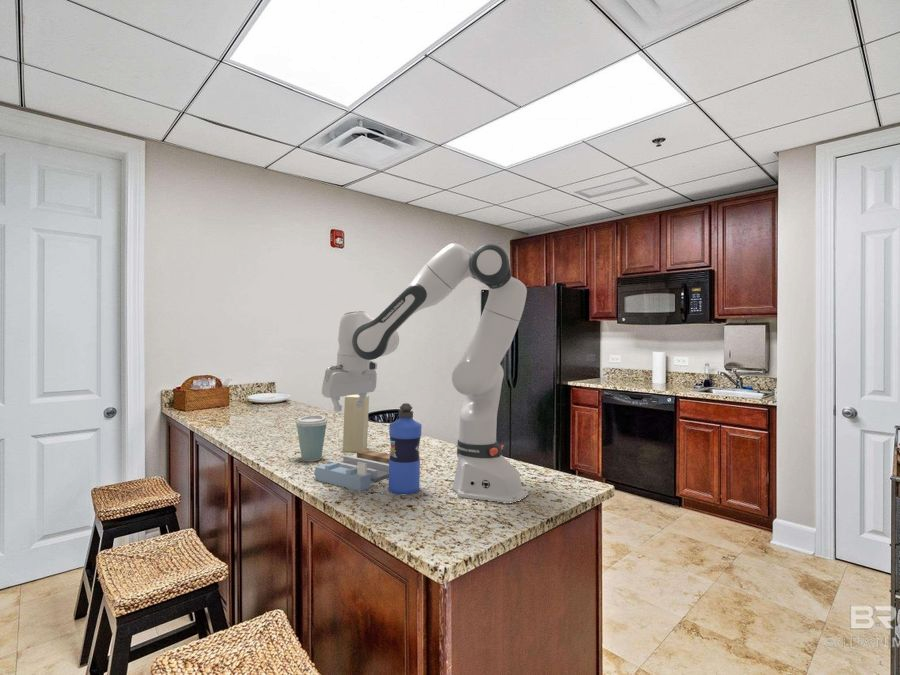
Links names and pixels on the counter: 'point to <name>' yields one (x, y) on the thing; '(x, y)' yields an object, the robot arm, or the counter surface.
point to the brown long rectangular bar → (374, 456)
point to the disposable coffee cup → (311, 436)
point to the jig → (373, 467)
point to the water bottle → (404, 453)
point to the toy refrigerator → (355, 424)
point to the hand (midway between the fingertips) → (348, 409)
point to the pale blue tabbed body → (344, 475)
